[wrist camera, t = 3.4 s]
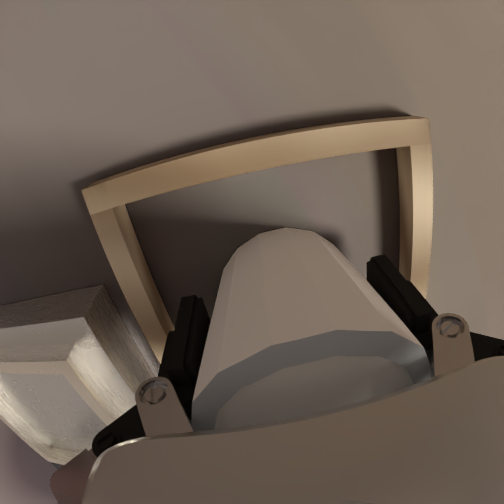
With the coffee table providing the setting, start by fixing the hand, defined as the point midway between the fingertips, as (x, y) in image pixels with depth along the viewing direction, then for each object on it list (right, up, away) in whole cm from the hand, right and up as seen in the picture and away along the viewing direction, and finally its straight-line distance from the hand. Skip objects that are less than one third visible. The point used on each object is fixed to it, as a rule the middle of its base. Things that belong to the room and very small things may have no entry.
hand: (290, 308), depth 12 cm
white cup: (0, +1, +2) cm, 2 cm away
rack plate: (-14, -7, +4) cm, 16 cm away
